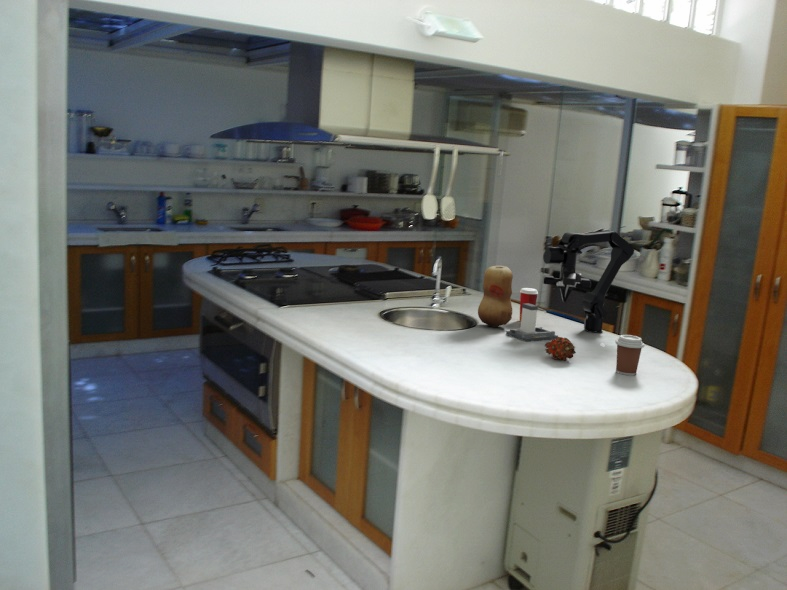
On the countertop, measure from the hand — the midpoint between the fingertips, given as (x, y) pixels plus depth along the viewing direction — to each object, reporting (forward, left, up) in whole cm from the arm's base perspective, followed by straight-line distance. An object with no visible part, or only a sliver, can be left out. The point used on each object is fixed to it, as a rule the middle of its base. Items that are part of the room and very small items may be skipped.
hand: (564, 302), depth 293 cm
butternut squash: (+27, +2, -12) cm, 30 cm away
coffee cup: (-14, +54, -12) cm, 57 cm away
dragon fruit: (+7, +44, -12) cm, 46 cm away
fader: (+15, +15, -11) cm, 24 cm away
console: (+13, +14, -12) cm, 22 cm away
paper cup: (+13, -13, -12) cm, 22 cm away
